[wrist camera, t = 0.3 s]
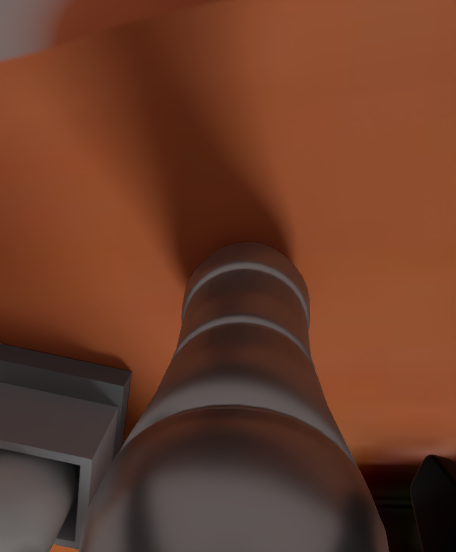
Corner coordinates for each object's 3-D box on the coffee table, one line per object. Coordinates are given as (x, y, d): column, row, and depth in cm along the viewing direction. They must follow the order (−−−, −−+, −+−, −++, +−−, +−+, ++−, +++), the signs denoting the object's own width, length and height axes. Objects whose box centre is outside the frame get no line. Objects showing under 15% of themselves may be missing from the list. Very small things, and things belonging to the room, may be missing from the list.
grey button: (77, 516, 23) (43, 590, 20) (-11, 498, 23) (-62, 568, 19) (82, 451, 21) (45, 519, 17) (-15, 430, 21) (-73, 495, 17)
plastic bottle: (182, 325, 23) (-156, 1213, 4) (203, 218, 20) (-431, 1261, 2) (285, 348, 23) (414, 1325, 4) (319, 245, 20) (1021, 1538, 2)
